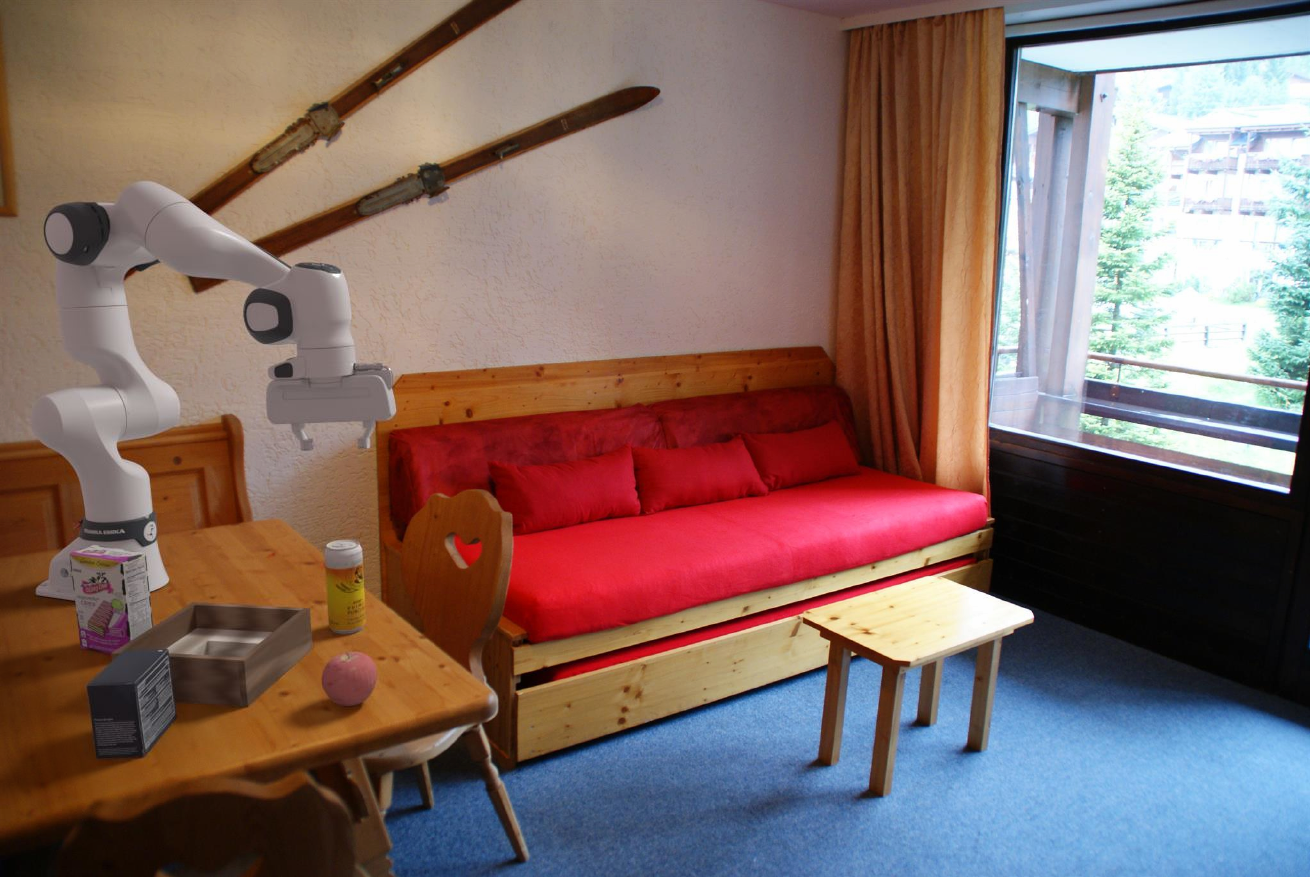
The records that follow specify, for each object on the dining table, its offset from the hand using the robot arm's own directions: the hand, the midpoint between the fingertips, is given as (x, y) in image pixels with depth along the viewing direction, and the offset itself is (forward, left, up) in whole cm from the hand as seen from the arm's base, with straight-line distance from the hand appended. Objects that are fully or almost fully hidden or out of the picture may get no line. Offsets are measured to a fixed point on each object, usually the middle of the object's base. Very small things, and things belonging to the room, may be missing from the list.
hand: (335, 449), depth 156 cm
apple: (+12, -25, -32) cm, 42 cm away
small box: (-12, -38, -32) cm, 51 cm away
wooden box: (-12, -17, -32) cm, 38 cm away
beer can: (0, +1, -32) cm, 32 cm away
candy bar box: (-33, -12, -32) cm, 48 cm away
